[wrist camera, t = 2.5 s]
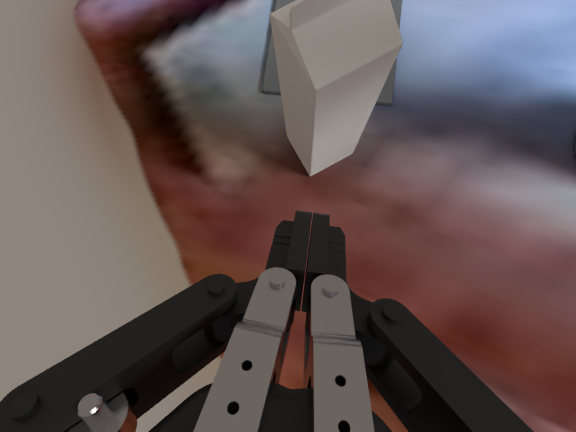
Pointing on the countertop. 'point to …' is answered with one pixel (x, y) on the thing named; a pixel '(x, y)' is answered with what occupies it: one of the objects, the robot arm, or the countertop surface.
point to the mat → (271, 71)
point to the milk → (331, 72)
